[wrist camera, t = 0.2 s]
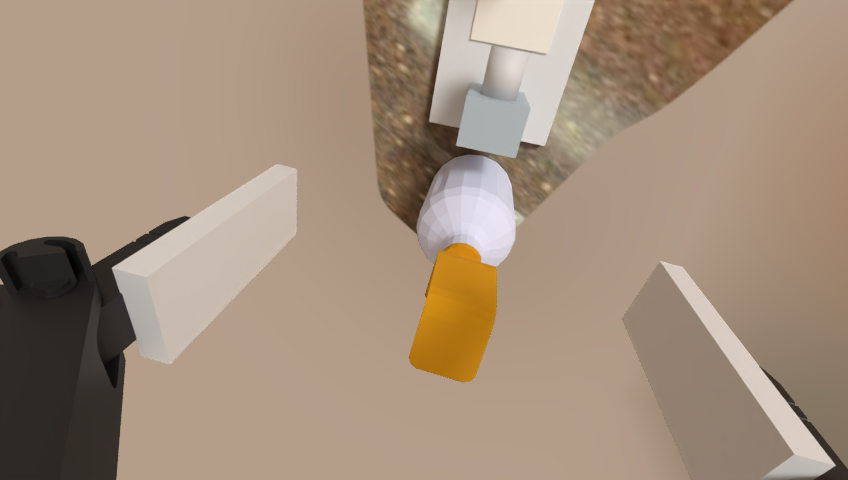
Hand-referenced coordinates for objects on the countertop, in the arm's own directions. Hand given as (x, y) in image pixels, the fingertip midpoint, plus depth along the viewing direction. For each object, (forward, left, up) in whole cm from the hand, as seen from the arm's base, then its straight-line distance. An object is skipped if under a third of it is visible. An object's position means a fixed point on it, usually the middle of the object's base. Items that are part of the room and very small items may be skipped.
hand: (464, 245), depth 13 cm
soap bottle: (+9, +1, -28) cm, 29 cm away
